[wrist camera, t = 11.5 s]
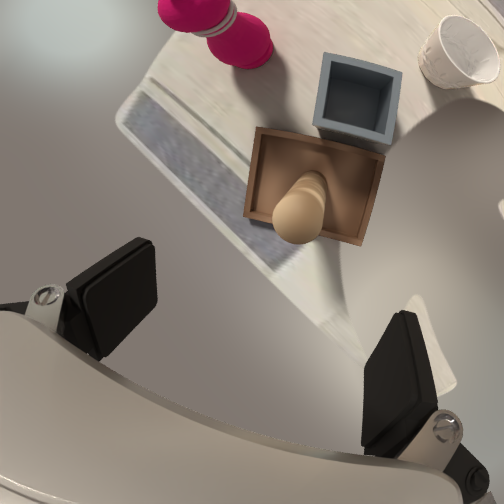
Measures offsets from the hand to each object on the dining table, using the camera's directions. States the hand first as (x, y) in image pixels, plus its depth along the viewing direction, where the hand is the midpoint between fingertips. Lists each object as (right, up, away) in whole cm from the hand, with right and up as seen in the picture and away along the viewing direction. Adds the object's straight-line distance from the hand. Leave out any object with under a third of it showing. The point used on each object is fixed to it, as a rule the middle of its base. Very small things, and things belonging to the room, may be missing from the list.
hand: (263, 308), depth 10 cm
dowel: (+7, +11, +23) cm, 27 cm away
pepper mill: (-1, +29, +19) cm, 34 cm away
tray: (+7, +11, +24) cm, 27 cm away
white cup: (+24, +26, +12) cm, 37 cm away
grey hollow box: (+12, +20, +18) cm, 29 cm away
